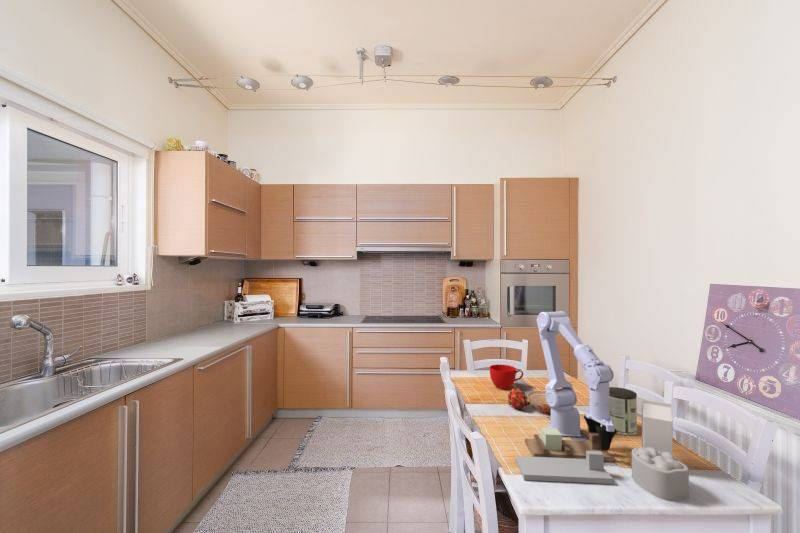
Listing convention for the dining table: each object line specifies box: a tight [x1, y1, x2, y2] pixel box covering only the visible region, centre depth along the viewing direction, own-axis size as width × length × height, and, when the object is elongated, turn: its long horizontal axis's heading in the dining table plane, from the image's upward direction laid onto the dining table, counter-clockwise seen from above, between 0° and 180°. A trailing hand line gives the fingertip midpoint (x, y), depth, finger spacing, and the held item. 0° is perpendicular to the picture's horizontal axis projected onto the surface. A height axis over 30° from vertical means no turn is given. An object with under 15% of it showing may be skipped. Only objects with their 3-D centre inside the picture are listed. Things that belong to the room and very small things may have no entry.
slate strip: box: [514, 451, 614, 485], centre depth 102 cm, size 24×10×6 cm, turn 85°
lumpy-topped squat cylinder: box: [630, 446, 690, 502], centre depth 96 cm, size 10×13×9 cm
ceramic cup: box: [489, 364, 524, 390], centre depth 178 cm, size 13×17×10 cm
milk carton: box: [641, 398, 674, 456], centre depth 107 cm, size 7×7×19 cm
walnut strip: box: [524, 433, 614, 463], centre depth 114 cm, size 24×10×6 cm, turn 85°
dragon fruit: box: [507, 388, 531, 411], centre depth 151 cm, size 8×8×12 cm
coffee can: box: [609, 386, 638, 436], centre depth 131 cm, size 10×10×14 cm
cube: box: [540, 427, 563, 451], centre depth 114 cm, size 5×5×5 cm
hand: (599, 444), depth 113 cm, fingers open, 6 cm apart
